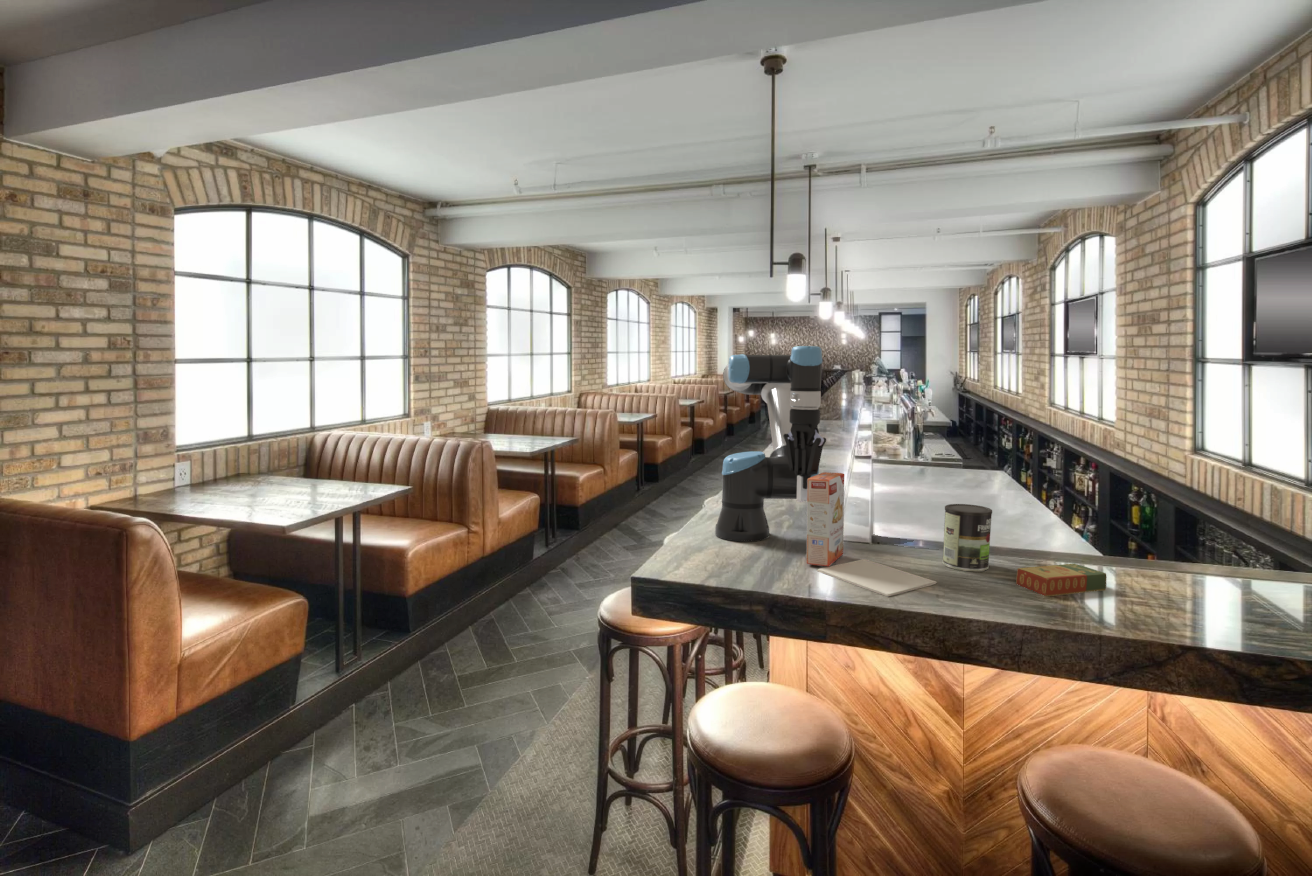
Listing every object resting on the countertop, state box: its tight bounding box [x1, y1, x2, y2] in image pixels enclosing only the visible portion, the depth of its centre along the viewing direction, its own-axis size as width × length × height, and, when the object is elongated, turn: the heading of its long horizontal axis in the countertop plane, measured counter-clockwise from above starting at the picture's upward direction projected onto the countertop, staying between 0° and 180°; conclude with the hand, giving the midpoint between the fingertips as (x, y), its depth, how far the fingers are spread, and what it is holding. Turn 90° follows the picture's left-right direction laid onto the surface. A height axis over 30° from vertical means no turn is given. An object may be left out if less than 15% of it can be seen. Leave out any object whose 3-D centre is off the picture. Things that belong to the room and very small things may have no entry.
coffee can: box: [942, 503, 993, 573], centre depth 160 cm, size 10×10×14 cm
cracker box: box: [806, 472, 845, 567], centre depth 163 cm, size 14×6×21 cm, turn 151°
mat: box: [816, 558, 937, 597], centre depth 151 cm, size 20×16×1 cm
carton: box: [1015, 563, 1108, 597], centre depth 145 cm, size 8×16×4 cm, turn 105°
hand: (802, 500), depth 170 cm, fingers closed
